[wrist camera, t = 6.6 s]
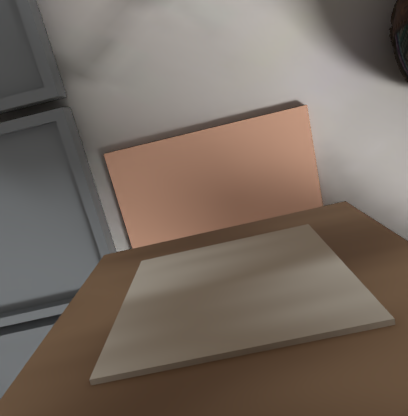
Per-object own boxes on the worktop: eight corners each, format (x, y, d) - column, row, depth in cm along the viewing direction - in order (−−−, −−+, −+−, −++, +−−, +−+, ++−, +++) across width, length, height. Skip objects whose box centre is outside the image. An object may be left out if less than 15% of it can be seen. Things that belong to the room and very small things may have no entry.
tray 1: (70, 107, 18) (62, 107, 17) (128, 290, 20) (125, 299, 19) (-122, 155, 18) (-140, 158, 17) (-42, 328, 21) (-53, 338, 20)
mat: (304, 104, 18) (307, 104, 17) (334, 288, 20) (336, 292, 20) (105, 153, 18) (103, 154, 18) (158, 326, 21) (157, 330, 20)
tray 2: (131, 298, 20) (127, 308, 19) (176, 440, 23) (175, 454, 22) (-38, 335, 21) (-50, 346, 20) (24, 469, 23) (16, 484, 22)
